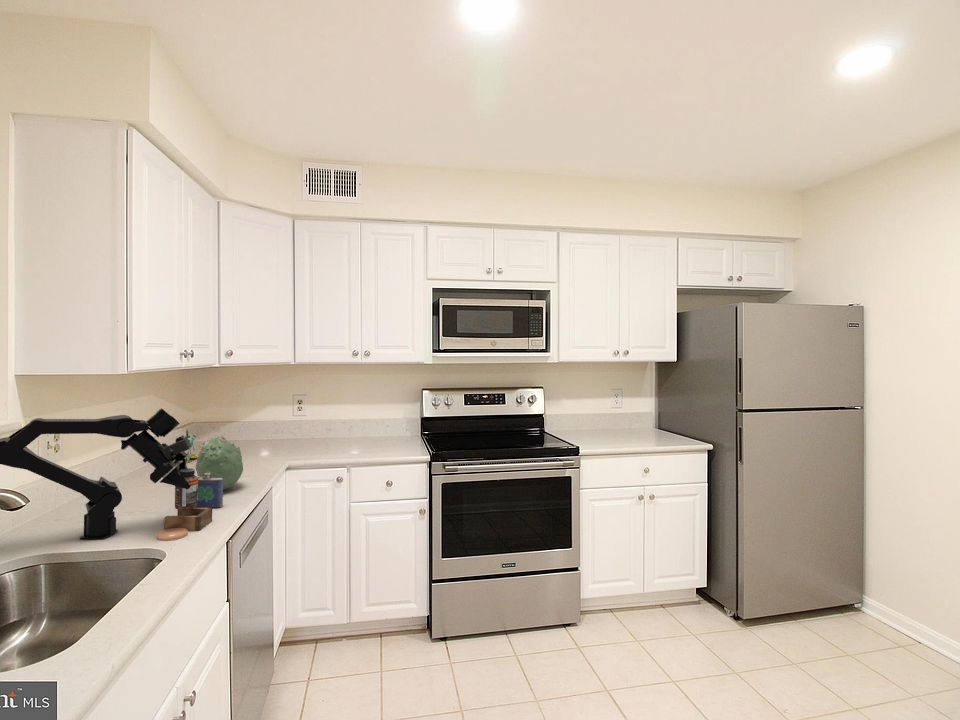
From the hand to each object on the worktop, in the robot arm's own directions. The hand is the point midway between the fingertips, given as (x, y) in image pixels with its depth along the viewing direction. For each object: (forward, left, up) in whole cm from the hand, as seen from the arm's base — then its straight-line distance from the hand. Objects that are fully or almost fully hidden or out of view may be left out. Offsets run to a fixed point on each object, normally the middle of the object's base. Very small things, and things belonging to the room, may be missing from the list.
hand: (191, 485), depth 156 cm
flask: (-3, +18, -12) cm, 22 cm away
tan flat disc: (-1, -9, -12) cm, 15 cm away
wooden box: (0, 0, -12) cm, 12 cm away
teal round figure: (-42, +92, -12) cm, 102 cm away
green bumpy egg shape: (-7, +39, -12) cm, 41 cm away
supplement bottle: (-1, 0, -7) cm, 7 cm away
